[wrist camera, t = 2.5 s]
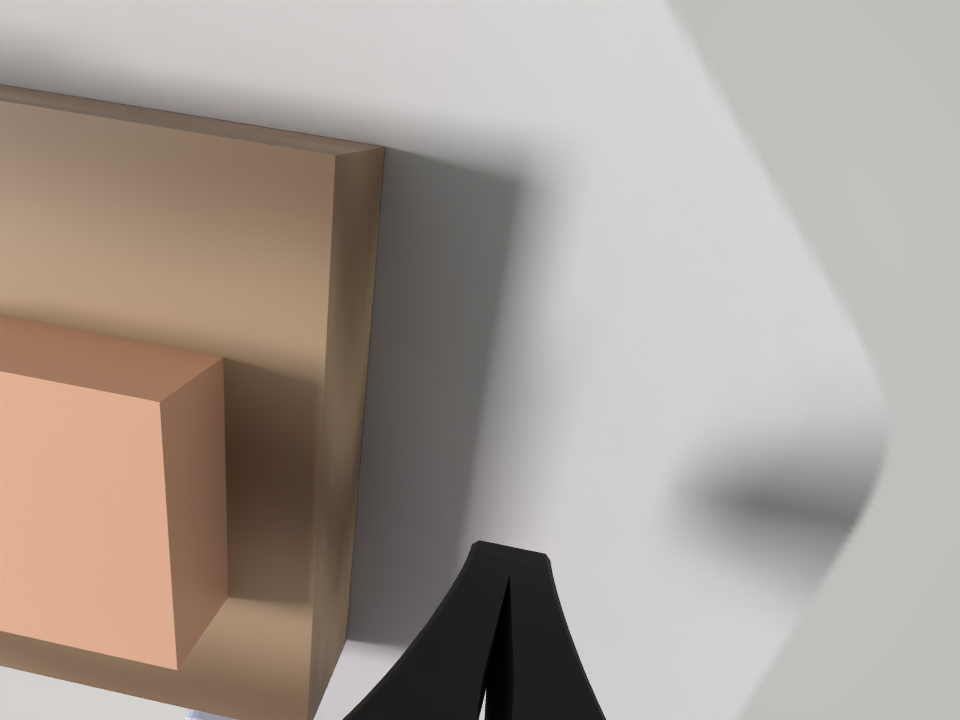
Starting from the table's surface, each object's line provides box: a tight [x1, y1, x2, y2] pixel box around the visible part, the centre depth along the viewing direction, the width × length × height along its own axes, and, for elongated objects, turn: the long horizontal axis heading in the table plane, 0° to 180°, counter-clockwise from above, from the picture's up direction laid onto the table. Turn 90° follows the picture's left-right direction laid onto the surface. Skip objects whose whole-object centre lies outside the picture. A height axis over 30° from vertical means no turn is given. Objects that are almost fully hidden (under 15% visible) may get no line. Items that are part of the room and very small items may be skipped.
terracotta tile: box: [0, 315, 228, 670], centre depth 12 cm, size 6×6×2 cm
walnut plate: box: [0, 84, 385, 720], centre depth 15 cm, size 14×12×3 cm
